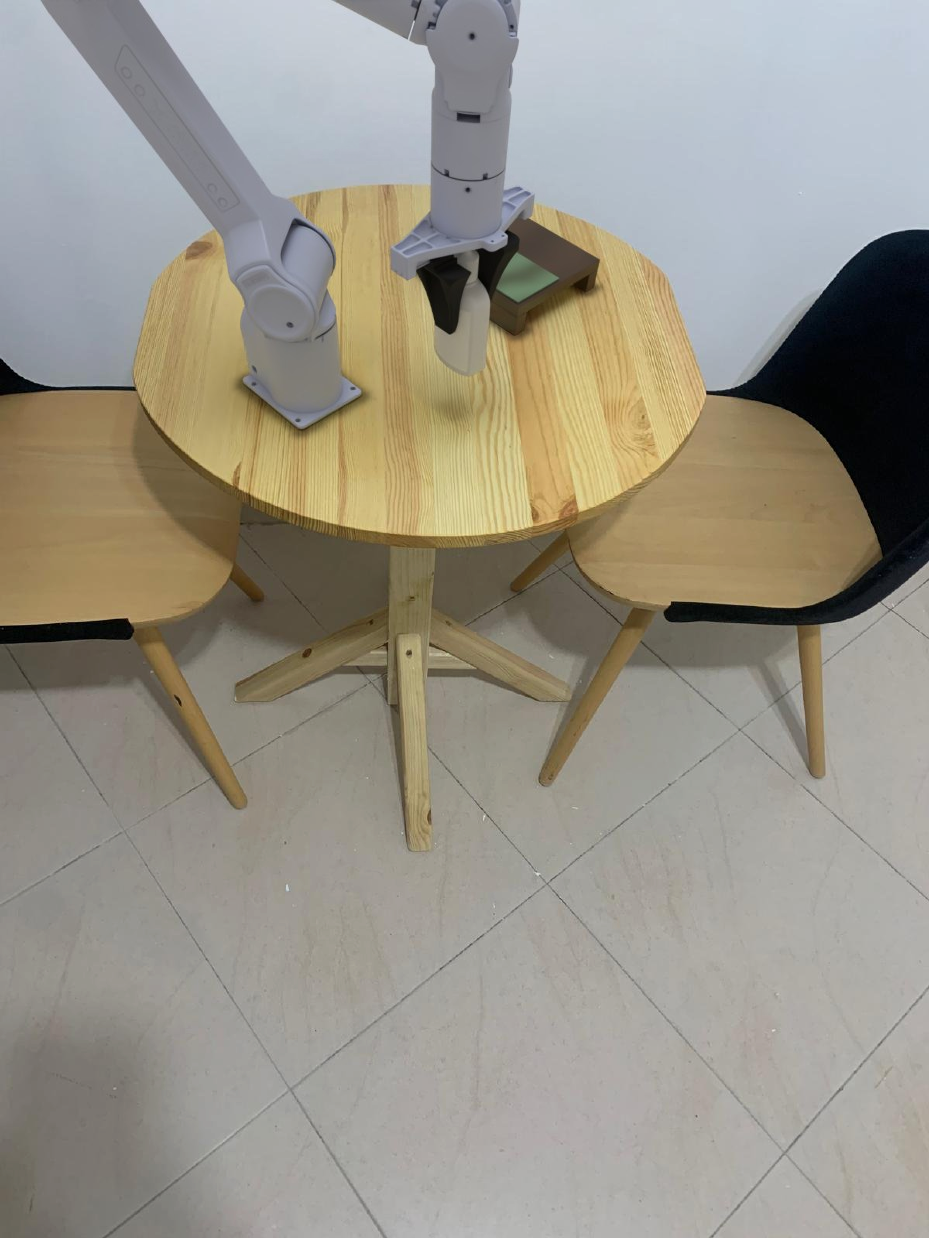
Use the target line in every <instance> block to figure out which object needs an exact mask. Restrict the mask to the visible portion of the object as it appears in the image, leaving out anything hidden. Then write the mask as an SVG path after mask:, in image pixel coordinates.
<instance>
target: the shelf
mask: <svg viewBox="0 0 929 1238" xmlns="http://www.w3.org/2000/svg"><path fill="white" fill-rule="evenodd" d="M508 230H509V231H511V232H512V233H514V234H516V235H517V236H518V237H519V239H520V243H519V250H518V251H517V252H516V254H515V255H514V256H513V258H512V259H511V260H510V262H509V263H508V265H507V267H506V269H505V270H504V272H503V274H502V276H501V278H500V280H499V282H498V285H497V287H496V290H495V293H494V295H493V298H492V301H491V304H490V315H489V321H492V322H493V323H494V324H496V325H498V326H500V327H501V328H502V329H504V330H506V332H508V333H510V334H512V336H516V335H518V334H519V333H522V331H525V325H526V318H527V312H528V311H530V310H532V309H534V308H535V307H537V306H539V305H540V304H542V303H544V302H546V301H547V300H549V299H550V298H552V297H554V296H555V295H557V294H559V293H560V292H562V291H564V290H565V289H567V288H569V287H571V286H572V285H573V286H575V287H576V288H577V289H579V290H581V291H583V292H584V293H587V292H589V291H590V290H592V289H594V288H595V284H596V279H597V276H598V271H599V267H600V263H601V259H600V258H598V257H596V256H595V255H593V254H591V253H590V252H588V251H587V250H584V249H583V248H581V247H580V246H578V245H576V244H574V243H573V242H570V241H569V240H567V239H566V238H564V237H562V236H561V235H559V234H557V233H555V232H553V231H552V230H550V229H548V228H547V227H545V226H544V225H541V224H540V223H538V222H537V221H534V220H533V219H531V218H530V217H529V218H527V219H525V220H523V219H521V218H519V217H518V218H516V219H515V220H514V221H513V222H512V224H511V225H510V226H509V227H508Z"/></svg>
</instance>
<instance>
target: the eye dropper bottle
mask: <svg viewBox="0 0 929 1238" xmlns="http://www.w3.org/2000/svg"><path fill="white" fill-rule="evenodd" d="M454 257H457V258H458V259H457V263H458V264H459V265H461V266H462V267H464V268H466V269H467V270H469V271H470V272H471V275H470V277H469V279H468V280H467V283H466V285H465V288H464V291H463V294H462V298H461V302H460V311H459V320H458V325H457V328H456V331H455V332H454V333H453V334H451V335H449V334H447V333H446V332H444V331H443V330H442V329H440V328H439V327H437V326H436V325H435V322H433V350H434V352H435V354H436V356H437V358H438V359H439V361H440V362H441V363H442V364H443V365H444V366H445V367H446V368H448V369H449V370H451V371H453V372H454V373H456V374H458V375H460V376H463V377H468V378H469V377H472V376H475V375H476V374H479V373H481V372H483V371H484V370H485V369H486V363H487V350H488V338H489V329H490V327H489V325H490V319H489V315H490V299H489V295H488V293H487V291H486V289H485V287H484V286H483V284H482V283H481V281H480V280H479V279H478V278H477V277H478V263H479V254H478V252H477V251H476V250H470V251H466V252H461V253H457V254H454Z"/></svg>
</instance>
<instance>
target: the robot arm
mask: <svg viewBox="0 0 929 1238" xmlns="http://www.w3.org/2000/svg"><path fill="white" fill-rule="evenodd" d="M331 1H333V2H334V3H336V4H338V5H339V6H342V7H344V8H346V9H348V10H349V11H352V12H354V13H355V14H358V15H359V16H361V17H363V18H365V19H367V20H369V21H371V22H373V23H375V24H377V25H379V26H381V27H383V28H385V29H387V30H388V31H390V32H392V33H394V34H396V35H398V36H400V37H402V38H404V39H405V40H408V41H409V42H411V43H412V44H415V45H418V46H424V47H427V51H428V54H429V57H430V60H431V61H432V63H433V64H434V87H433V88H432V90H431V97H430V98H431V99H430V100H431V113H430V116H431V117H430V118H431V119H430V121H431V122H430V124H431V125H430V195H429V196H430V197H429V198H430V200H429V202H430V203H429V204H430V205H429V206H430V207H429V208H430V209H429V212H427V213H426V214H425V216H423V218H422V219H421V220H420V221H419V222H418V223H417V224H416V225H415V226H414V227H413V228H412V230H410V232H408V234H406V236H405V237H403V238H402V239H401V240H400V241H399V242H397V243H395V244H393V245H391V246H390V247H389V252H390V253H389V254H390V255H389V257H390V270H391V271H392V272H393V273H396V275H398V276H399V277H401V278H403V279H404V280H406V281H410V280H412V279H413V278H416V277H417V276H418V278H419V280H420V282H421V284H422V286H423V289H424V291H425V294H426V296H427V299H428V302H429V306H430V310H431V314H432V318H433V321H434V322H435V325H436V326H437V327H439V328H440V329H442V330H443V331H444V332H446V333H447V334H449V335H451V334H453V333H454V332H455V331H456V328H457V325H458V320H459V311H460V302H461V298H462V294H463V291H464V288H465V285H466V283H467V280H468V279H469V277H470V275H471V272H470V271H469V270H467V269H466V268H464V267H462V266H461V265H459V264H458V263H457V259H458V258H457V257H454V254H457V253H461V252H466V251H470V250H476V251H477V252H478V254H479V263H478V277H477V278H478V279H479V280H480V281H481V283H482V284H483V286H484V287H485V289H486V291H487V293H488V295H489V299H490V304H491V301H492V298H493V295H494V293H495V290H496V287H497V285H498V282H499V280H500V278H501V276H502V274H503V272H504V270H505V269H506V267H507V265H508V263H509V262H510V260H511V259H512V258H513V256H514V255H515V254H516V252H517V251H518V250H519V243H520V239H519V237H518V236H517V235H516V234H514V233H512V232H511V231H509V230H508V227H509V226H510V225H511V224H512V222H513V221H514V220H515V219H516V218H518V217H519V218H521V219H523V220H525V219H527V218H529V219H530V218H532V217H533V214H534V213H533V212H534V205H535V204H534V203H535V196H536V194H535V193H534V192H532V191H530V190H529V189H527V188H525V187H523V186H522V185H520V184H516V185H514V186H512V187H509V188H506V189H505V180H506V170H507V169H506V168H507V160H508V159H507V158H508V149H509V148H508V147H509V136H510V125H511V113H512V104H513V99H512V98H513V97H512V93H511V90H510V89H511V87H512V85H513V84H512V83H513V76H514V75H513V73H514V68H513V63H514V60H515V58H516V56H517V52H518V49H519V45H520V44H519V43H520V39H519V37H518V31H519V22H520V13H521V4H522V3H521V0H331ZM40 2H41V4H42V5H43V6H44V9H45V10H46V11H47V12H48V15H50V17H51V18H52V19H53V21H54V22H55V23H56V25H57V26H58V27H59V28H60V30H61V31H62V32H63V33H64V35H65V36H66V37H67V39H68V40H69V41H70V43H71V44H72V45H73V47H74V48H75V49H76V50H77V52H78V53H79V54H80V55H81V57H82V59H83V60H84V61H85V62H86V64H87V65H88V66H89V67H90V69H91V70H92V71H93V73H94V74H95V75H96V77H97V78H98V80H100V81H101V83H102V84H103V86H104V87H105V88H106V89H107V91H108V92H109V93H110V95H111V96H112V97H113V99H114V100H115V102H117V104H118V105H119V106H120V107H121V109H122V111H124V113H125V114H126V115H127V117H128V118H129V120H131V122H132V123H133V124H134V126H135V127H136V129H138V131H139V132H140V134H141V135H142V136H143V138H144V139H145V140H146V141H147V143H148V144H149V145H150V147H151V148H152V150H154V152H155V153H156V154H157V156H158V157H159V158H160V160H161V161H162V162H163V163H164V164H165V166H166V167H167V169H168V170H169V171H170V173H171V174H172V175H173V176H174V178H175V179H176V180H177V181H178V183H179V184H180V186H182V188H183V189H184V191H185V192H186V193H187V194H188V196H189V197H190V198H191V200H192V201H193V202H194V204H195V205H196V206H197V207H198V209H199V210H200V212H202V215H204V217H205V218H206V220H207V221H208V222H209V223H210V225H211V226H212V227H213V228H214V229H215V231H216V232H217V233H218V234H219V236H220V237H221V239H222V244H223V251H224V256H225V261H226V262H225V263H226V269H227V274H228V278H229V280H230V282H231V283H232V284H233V286H234V287H235V288H236V290H237V291H238V292H239V294H240V296H241V298H242V302H243V305H244V307H243V308H242V312H241V316H240V322H239V328H240V332H241V338H242V344H243V347H244V352H245V358H246V362H247V367H248V371H249V374H248V375H246V376H244V377H243V379H242V382H243V384H244V385H245V386H246V387H247V388H249V389H250V390H251V391H252V392H254V393H255V394H256V395H257V396H259V398H261V399H262V400H263V401H264V402H266V403H267V404H268V405H269V406H270V407H271V408H273V410H275V411H277V412H278V413H279V414H280V415H281V416H283V417H284V418H285V419H286V420H287V421H289V422H290V423H291V424H292V425H293V426H294V427H296V428H297V429H299V430H304V429H306V428H308V427H310V426H312V425H313V424H315V423H317V422H319V421H320V420H321V419H324V418H325V417H327V416H329V415H330V414H332V413H333V412H335V411H337V410H339V409H340V408H342V407H344V406H345V405H347V404H349V403H350V402H352V401H354V400H355V399H357V398H360V396H361V395H362V389H361V388H359V387H358V386H357V385H356V384H354V383H353V382H351V381H350V380H349V379H347V378H346V377H345V376H343V374H342V362H341V352H340V351H341V350H340V340H339V329H338V327H339V326H338V318H337V317H338V316H337V308H336V305H335V301H334V300H333V298H332V296H331V294H330V291H329V289H328V286H329V283H330V279H331V278H332V276H333V274H334V272H335V270H336V265H337V253H336V249H335V246H334V243H333V242H332V240H331V238H330V237H329V236H328V234H327V233H326V232H325V231H324V230H323V229H321V227H319V226H318V225H316V224H315V223H313V222H312V221H310V220H309V219H308V218H307V217H306V216H305V215H303V214H302V212H301V211H300V210H299V209H300V208H298V207H297V205H296V204H295V202H294V201H293V200H291V199H289V198H287V197H282V196H279V195H276V194H273V192H271V191H270V189H269V188H268V186H267V184H266V183H265V182H264V181H263V179H262V178H261V176H260V175H259V172H257V170H256V169H255V167H254V165H253V164H252V163H251V162H250V160H249V159H248V157H247V155H246V154H245V153H244V151H243V150H242V148H241V147H240V145H239V144H238V142H237V141H236V140H235V138H234V136H233V135H232V134H231V132H230V131H229V129H228V128H227V127H226V125H225V123H224V122H223V120H222V119H221V118H220V116H219V115H218V114H217V112H216V110H215V109H214V108H213V106H212V105H211V103H210V101H209V100H208V98H206V96H205V94H204V93H203V92H202V90H201V88H200V87H199V85H198V84H197V83H196V81H195V80H194V79H193V77H192V75H191V74H190V73H189V70H188V69H187V68H186V66H185V65H184V63H183V62H182V60H181V59H180V58H179V56H178V55H177V54H176V51H174V49H173V48H172V46H171V45H170V43H169V42H168V40H167V38H166V37H165V36H164V34H163V33H162V31H161V30H160V29H159V27H158V26H157V24H156V23H155V22H154V20H153V18H152V17H151V16H150V14H149V13H148V11H147V10H146V8H145V7H144V5H143V4H142V3H141V1H140V0H40ZM434 322H433V323H434Z"/></svg>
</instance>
